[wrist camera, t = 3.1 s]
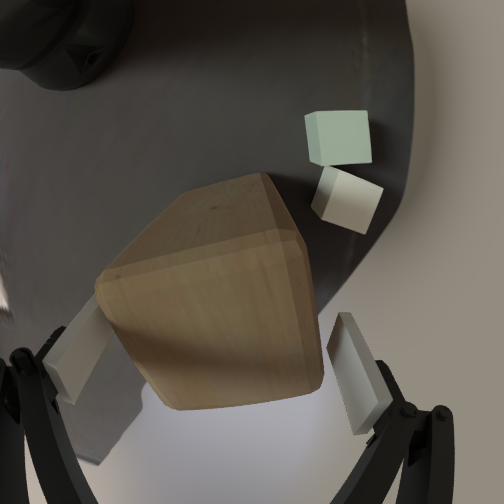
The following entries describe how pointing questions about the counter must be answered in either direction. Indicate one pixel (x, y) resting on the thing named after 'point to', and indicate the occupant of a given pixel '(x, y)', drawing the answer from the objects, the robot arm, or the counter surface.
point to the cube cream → (346, 199)
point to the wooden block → (218, 299)
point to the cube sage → (338, 137)
